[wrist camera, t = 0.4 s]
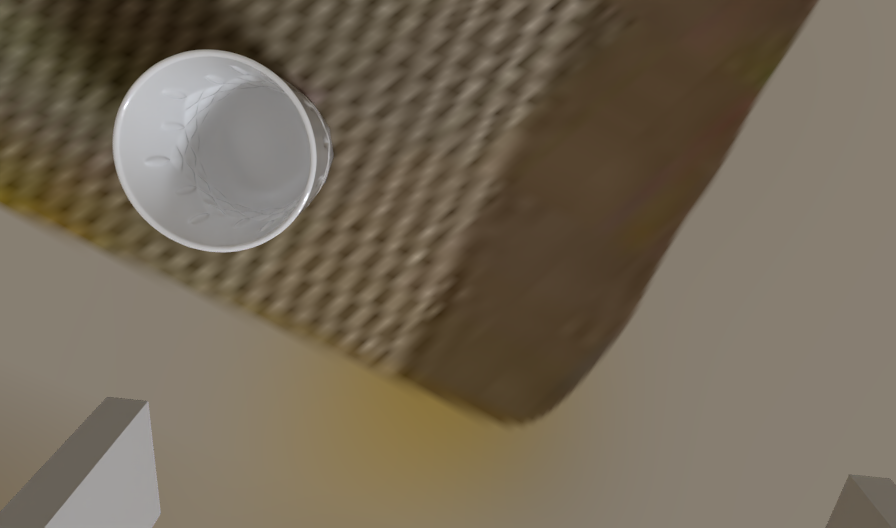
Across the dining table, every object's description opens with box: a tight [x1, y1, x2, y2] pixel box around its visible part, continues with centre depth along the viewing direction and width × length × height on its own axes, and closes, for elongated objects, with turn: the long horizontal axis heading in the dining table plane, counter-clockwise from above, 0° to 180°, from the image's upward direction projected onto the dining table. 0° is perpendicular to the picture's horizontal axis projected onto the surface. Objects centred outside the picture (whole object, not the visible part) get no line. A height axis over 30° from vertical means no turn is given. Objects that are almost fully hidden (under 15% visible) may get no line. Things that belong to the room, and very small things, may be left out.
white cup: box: [113, 49, 334, 252], centre depth 29 cm, size 8×8×10 cm
